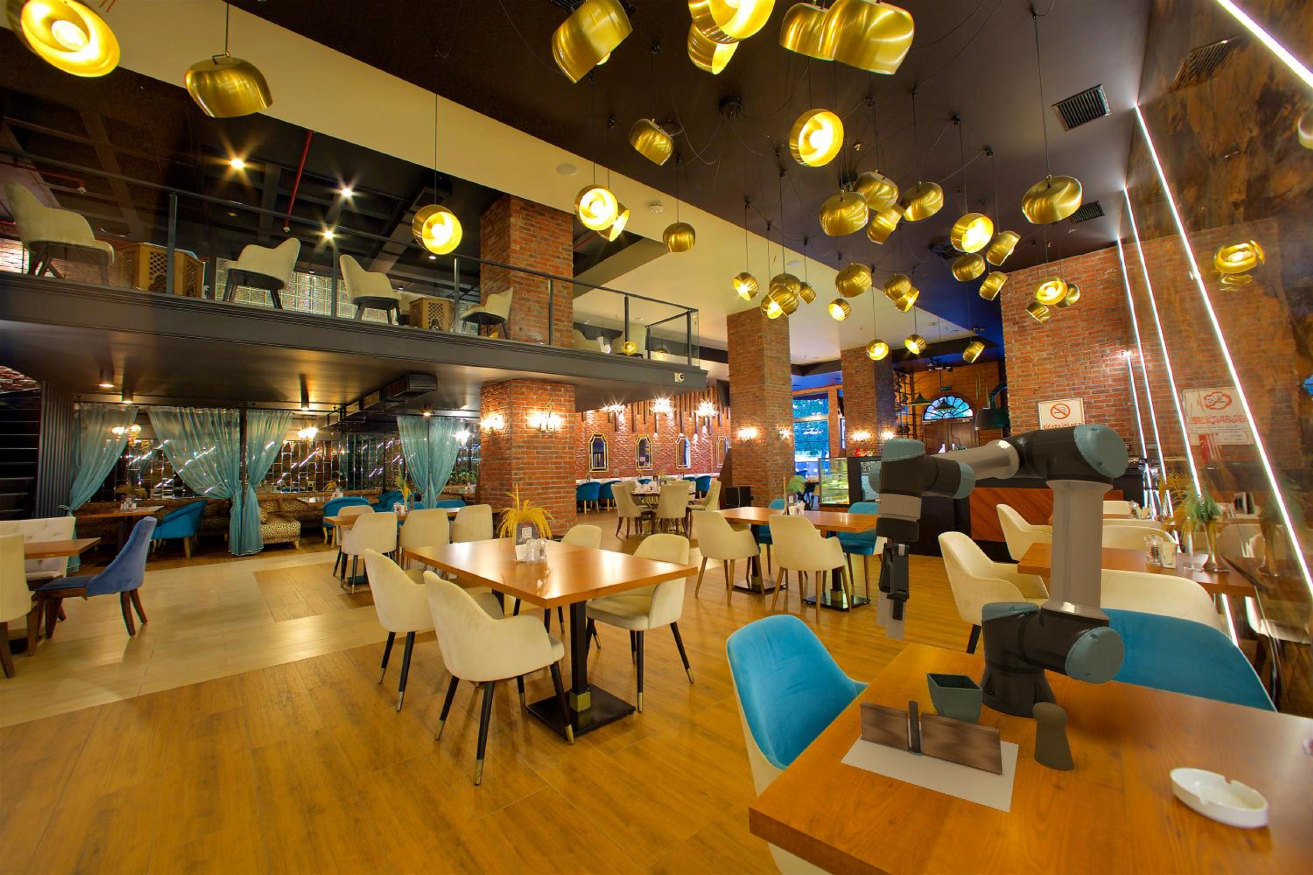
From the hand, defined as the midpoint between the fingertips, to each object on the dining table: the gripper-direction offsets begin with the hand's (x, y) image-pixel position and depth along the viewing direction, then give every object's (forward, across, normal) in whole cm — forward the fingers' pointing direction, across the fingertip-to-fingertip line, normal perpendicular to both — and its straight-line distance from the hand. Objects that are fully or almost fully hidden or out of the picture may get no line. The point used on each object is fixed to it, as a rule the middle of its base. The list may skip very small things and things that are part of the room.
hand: (888, 632), depth 98 cm
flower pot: (+20, -25, +18) cm, 37 cm away
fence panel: (+21, -5, +14) cm, 26 cm away
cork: (+20, -9, +31) cm, 38 cm away
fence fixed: (+22, -9, +3) cm, 24 cm away
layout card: (+22, -8, +10) cm, 26 cm away
